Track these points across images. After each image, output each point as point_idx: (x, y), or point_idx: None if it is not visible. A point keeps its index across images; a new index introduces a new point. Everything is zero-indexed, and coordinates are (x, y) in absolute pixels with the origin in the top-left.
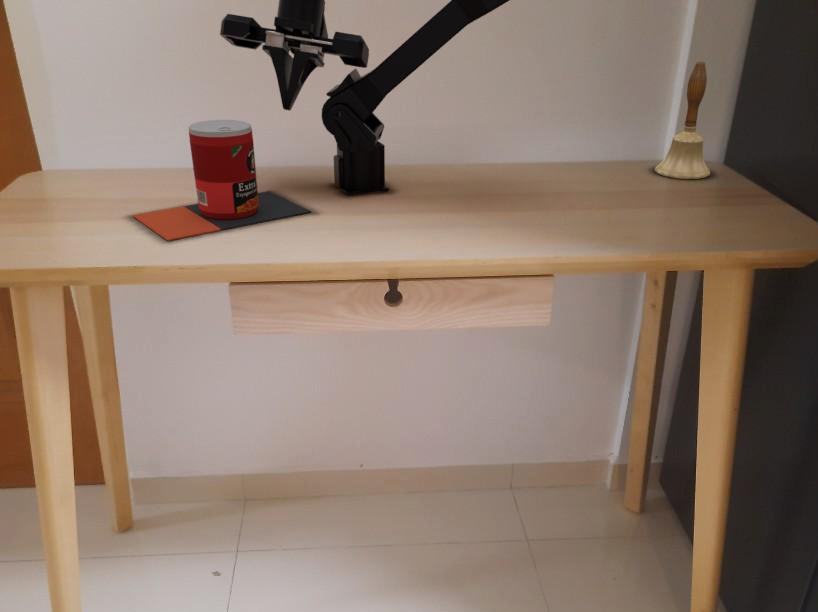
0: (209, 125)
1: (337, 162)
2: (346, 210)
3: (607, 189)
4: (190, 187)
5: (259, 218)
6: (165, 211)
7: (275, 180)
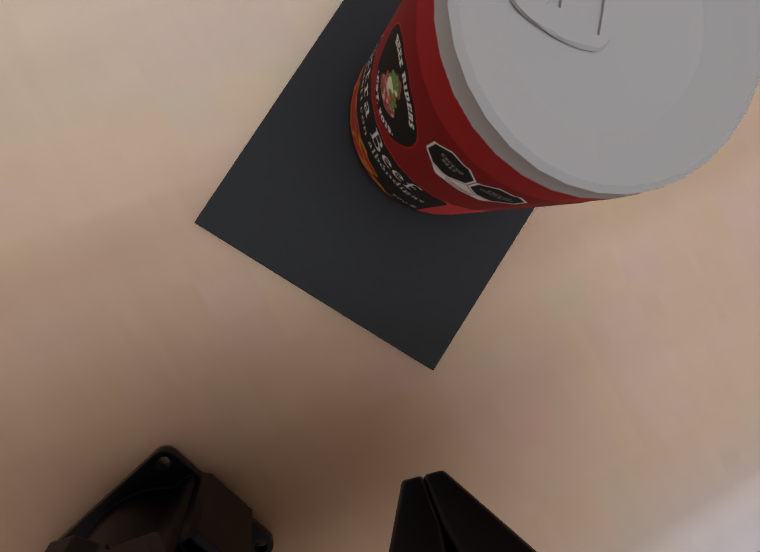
0: (696, 83)
1: (210, 533)
2: (87, 292)
3: None
4: (653, 322)
5: (316, 91)
6: None
7: (476, 493)
